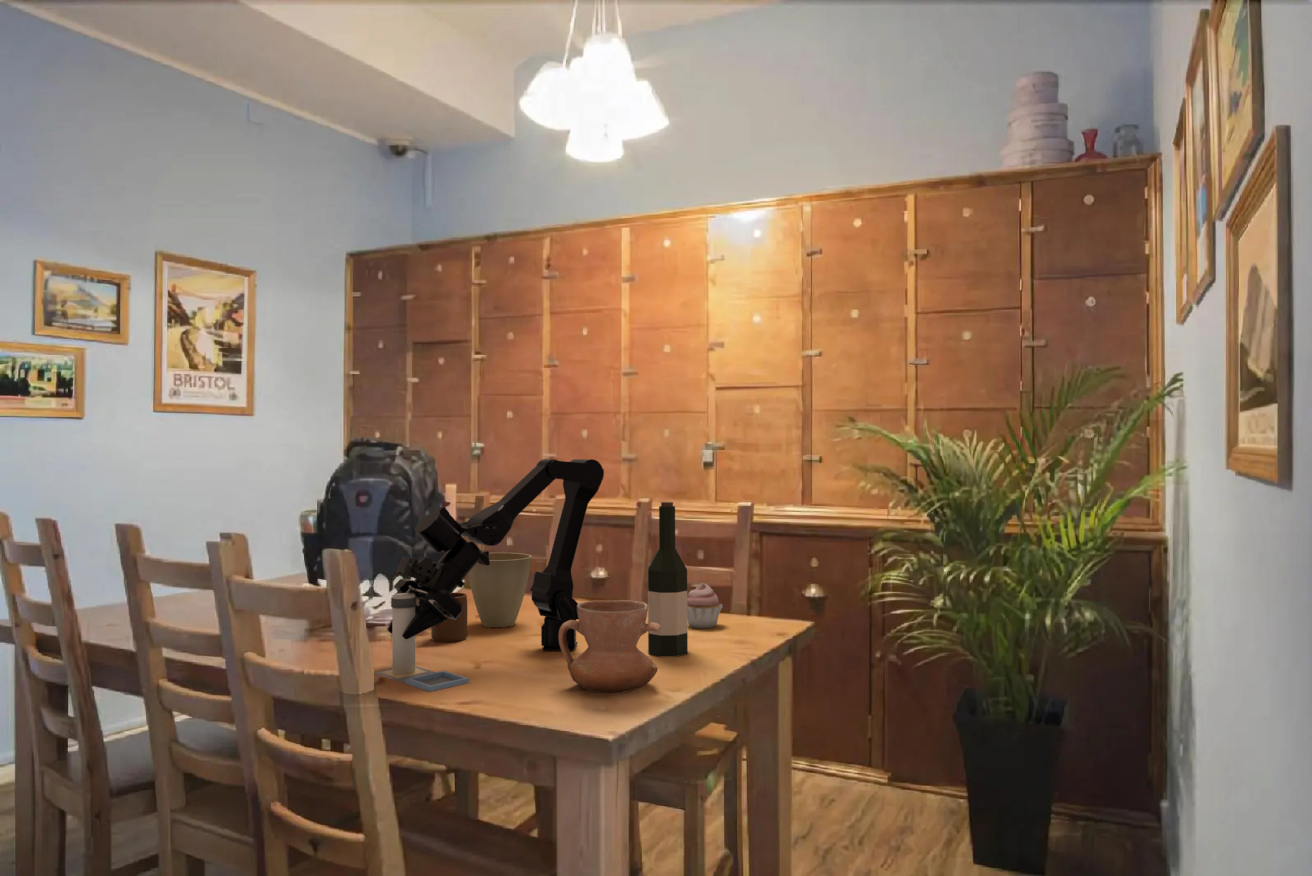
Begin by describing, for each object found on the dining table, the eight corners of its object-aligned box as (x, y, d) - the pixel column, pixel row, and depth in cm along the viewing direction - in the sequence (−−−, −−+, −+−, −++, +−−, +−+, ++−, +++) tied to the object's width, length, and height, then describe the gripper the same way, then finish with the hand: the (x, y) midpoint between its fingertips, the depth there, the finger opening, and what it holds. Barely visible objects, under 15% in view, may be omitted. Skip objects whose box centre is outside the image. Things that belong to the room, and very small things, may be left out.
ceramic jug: (670, 679, 159) (669, 599, 160) (650, 702, 145) (649, 614, 146) (573, 673, 164) (573, 595, 164) (545, 695, 150) (544, 609, 150)
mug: (435, 648, 185) (435, 602, 185) (408, 644, 189) (408, 599, 189) (474, 637, 195) (474, 593, 195) (448, 634, 199) (448, 591, 199)
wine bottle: (640, 655, 178) (640, 503, 178) (655, 646, 186) (654, 500, 186) (680, 658, 175) (680, 503, 175) (694, 649, 183) (693, 501, 183)
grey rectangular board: (372, 674, 164) (372, 668, 164) (411, 666, 170) (411, 660, 170) (430, 693, 151) (430, 687, 151) (470, 684, 157) (470, 678, 157)
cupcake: (678, 629, 203) (678, 584, 203) (686, 621, 212) (686, 578, 212) (719, 631, 201) (719, 586, 201) (726, 623, 210) (725, 580, 210)
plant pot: (481, 634, 199) (481, 561, 199) (456, 623, 211) (456, 555, 211) (542, 626, 207) (542, 556, 207) (515, 616, 219) (515, 550, 219)
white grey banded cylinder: (419, 669, 166) (419, 593, 166) (412, 675, 162) (412, 597, 162) (395, 669, 166) (395, 593, 166) (388, 675, 162) (388, 597, 162)
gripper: (403, 536, 174) (346, 600, 167) (446, 544, 159) (385, 614, 152) (442, 573, 179) (388, 636, 172) (486, 584, 164) (429, 654, 157)
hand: (396, 634), depth 163 cm, fingers open, 6 cm apart
